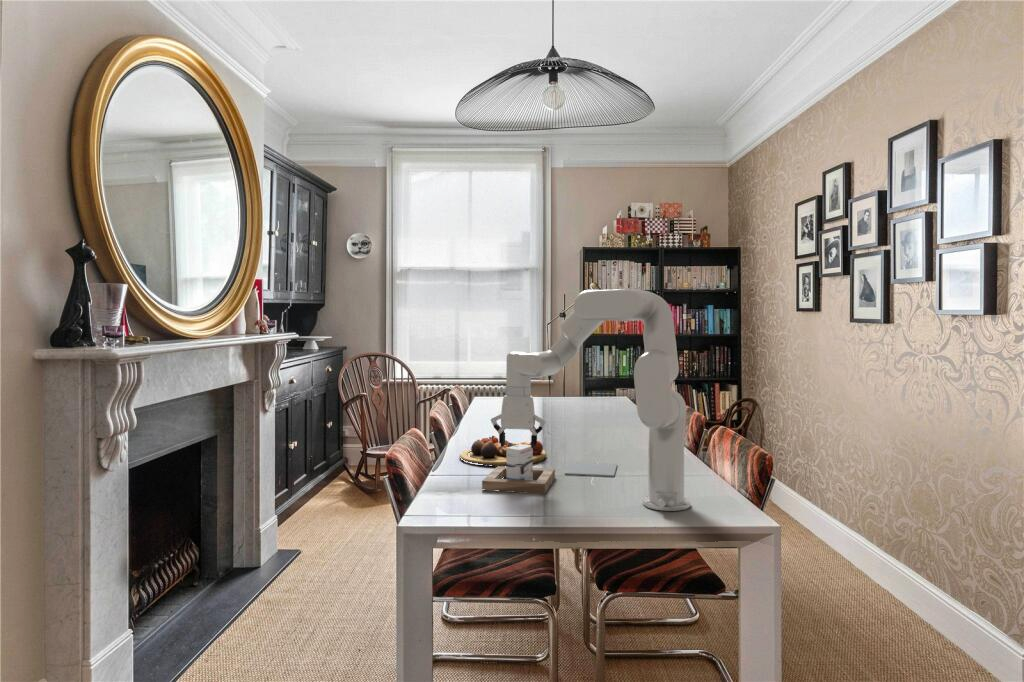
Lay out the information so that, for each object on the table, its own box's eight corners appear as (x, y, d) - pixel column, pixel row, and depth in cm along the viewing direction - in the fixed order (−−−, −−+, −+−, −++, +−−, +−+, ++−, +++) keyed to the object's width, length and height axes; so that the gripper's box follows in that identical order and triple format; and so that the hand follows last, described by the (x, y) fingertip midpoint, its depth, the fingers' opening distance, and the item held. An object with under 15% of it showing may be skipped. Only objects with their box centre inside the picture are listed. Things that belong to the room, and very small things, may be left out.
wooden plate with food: (562, 455, 240) (562, 433, 240) (514, 472, 214) (513, 447, 214) (494, 448, 258) (493, 427, 258) (441, 462, 232) (441, 439, 232)
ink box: (519, 488, 193) (519, 449, 193) (505, 486, 196) (505, 448, 195) (533, 482, 201) (533, 444, 200) (520, 480, 203) (519, 443, 203)
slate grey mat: (613, 477, 206) (614, 475, 206) (564, 474, 209) (564, 473, 209) (617, 465, 221) (617, 463, 221) (571, 463, 225) (571, 462, 225)
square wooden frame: (544, 494, 187) (544, 483, 187) (482, 490, 191) (482, 480, 191) (554, 477, 205) (554, 468, 205) (497, 475, 210) (497, 466, 209)
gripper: (488, 392, 195) (487, 447, 196) (543, 394, 192) (543, 450, 192) (494, 389, 203) (494, 442, 204) (548, 391, 199) (547, 445, 200)
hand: (518, 446), depth 198 cm, fingers open, 9 cm apart
